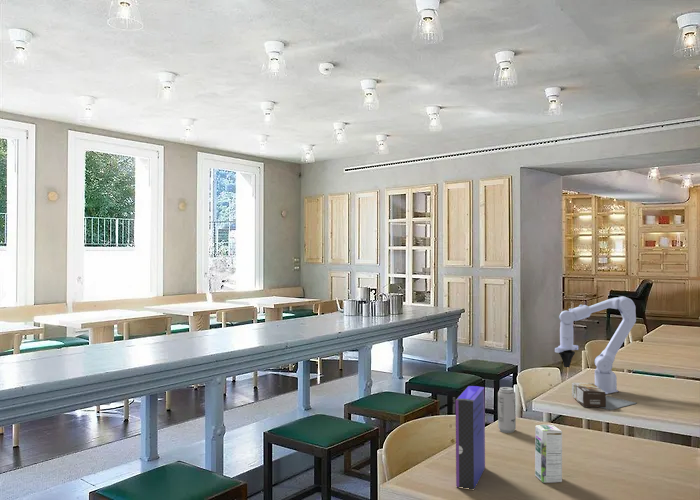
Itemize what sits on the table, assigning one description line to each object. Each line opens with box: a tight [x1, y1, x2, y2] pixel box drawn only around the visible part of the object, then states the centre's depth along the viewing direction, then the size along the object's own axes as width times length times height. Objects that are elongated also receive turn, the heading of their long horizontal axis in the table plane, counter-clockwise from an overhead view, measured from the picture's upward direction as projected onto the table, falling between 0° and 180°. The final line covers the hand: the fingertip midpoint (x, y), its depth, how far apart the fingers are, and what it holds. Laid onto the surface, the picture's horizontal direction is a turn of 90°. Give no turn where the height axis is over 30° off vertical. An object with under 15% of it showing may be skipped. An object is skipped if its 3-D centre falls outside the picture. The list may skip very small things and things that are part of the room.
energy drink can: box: [497, 386, 517, 434], centre depth 209 cm, size 6×6×15 cm
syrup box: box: [534, 424, 563, 484], centre depth 165 cm, size 6×6×14 cm
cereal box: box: [455, 385, 486, 490], centre depth 167 cm, size 17×5×24 cm, turn 157°
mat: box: [576, 395, 638, 411], centre depth 246 cm, size 18×16×1 cm
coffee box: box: [571, 382, 606, 408], centre depth 246 cm, size 9×6×16 cm
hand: (566, 366), depth 269 cm, fingers closed
